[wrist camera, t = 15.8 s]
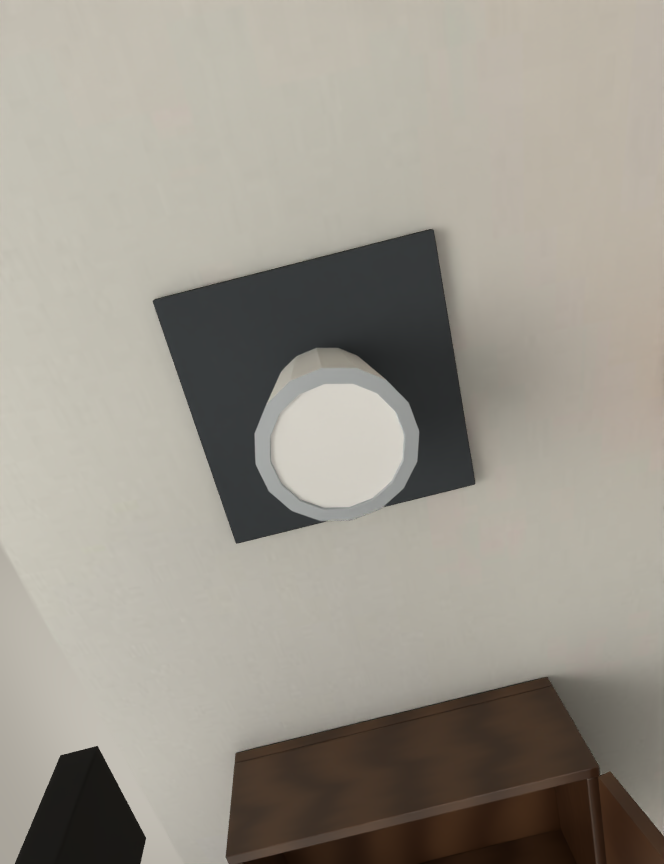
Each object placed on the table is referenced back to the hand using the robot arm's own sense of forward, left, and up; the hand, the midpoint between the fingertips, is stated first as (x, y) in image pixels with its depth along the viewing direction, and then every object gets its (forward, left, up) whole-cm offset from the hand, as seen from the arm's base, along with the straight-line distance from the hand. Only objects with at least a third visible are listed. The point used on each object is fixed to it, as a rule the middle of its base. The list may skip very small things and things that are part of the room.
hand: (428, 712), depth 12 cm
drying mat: (-1, +1, -21) cm, 21 cm away
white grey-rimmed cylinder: (-1, +1, -20) cm, 20 cm away
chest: (-2, -29, -21) cm, 36 cm away
